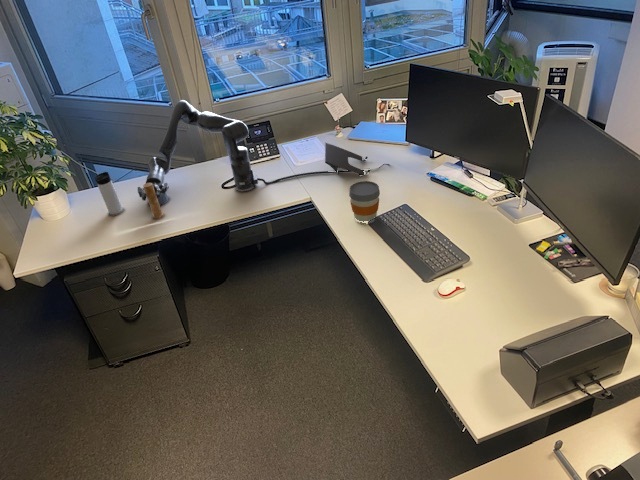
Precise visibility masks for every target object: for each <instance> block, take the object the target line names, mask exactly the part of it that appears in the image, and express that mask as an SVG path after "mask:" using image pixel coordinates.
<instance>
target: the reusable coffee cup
mask: <svg viewBox="0 0 640 480" xmlns="http://www.w3.org/2000/svg"><path fill="white" fill-rule="evenodd" d="M348 195H349V198H350V201H349V203H350V206H351V207H350V208H351V211H352V212H353V215H354V216H353V217H354V219H355V218H356V219H357V220H359V221H363V222H364V221H369V220H371V219H373V218H374V217H376V218H377V214H378V213H377V212H378V211H379V205H380V198H379V197H380V195H381V193H380V185H379V184H378V183H376V182H374V181H371V180H361V181H357V182H354V183H351V185H350V187H349V193H348ZM364 224H365V225H364ZM359 225H362V226H363V225H364V226H367V225H366V223H362V222H360V224H359Z"/></svg>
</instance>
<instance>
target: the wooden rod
mask: <svg viewBox="0 0 640 480" xmlns="http://www.w3.org/2000/svg"><path fill="white" fill-rule="evenodd" d="M142 188H144V190H145V193H146V199H147V198H148V199H147V202H148V201H149V202H148V204H149V207H150V209H151V212H152V215H153V218H154V219H161V218H162V217H163V216H164V214H163V211H162V208H161V205H159V202H158V199H157V196H156V193H155V190H154V187H153V184H152V183H146V182H145V183H144V184H143V185H142Z"/></svg>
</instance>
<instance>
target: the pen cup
mask: <svg viewBox="0 0 640 480" xmlns="http://www.w3.org/2000/svg"><path fill="white" fill-rule="evenodd" d="M155 193H157V192H155ZM146 200H147V202H148V203H149V201H148V198H147V197H146ZM168 201H169V195H168V192H166V193H164V194H163V193H162V194H161V197H159V198H158V202H159V205H160V206H161V205H164V204H166V203H167V202H168Z"/></svg>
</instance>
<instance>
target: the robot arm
mask: <svg viewBox="0 0 640 480" xmlns="http://www.w3.org/2000/svg"><path fill="white" fill-rule="evenodd" d="M180 121H181V122H182V123H184V124H187V125H190V126H194V127H197V128H199V129H201V130H203V131H205V132H208V133H211V134H221V136H222V139H223V142H224V147H225V150H226V153H227V155H228V158H229V163H230V167H231V172H232V177H233V181H234V184H235V190H236V191H237V192H243V193H244V192H249V191H252V190H253V189H256V185H258V184H259V181H261V182H263V184H265V185H271V184H275V183H277V182H280V181H283V180H287V179H293V178H296V177H301V176H302V177H303V176H309V175H319V174H337V173H336V172H328V171H329V170H323V171H311V172H304V173H297V174H292V175H288V176H284V177H280V178H277V179H275V180H272V181H269V182H268V181H266V180H265V179H264V178H260V177H258V174H254V172H253V171H254V170H253V169H252V166H251V160H250V155H249V150H248V148H247V147H245V146H243V145H242V146H240V145H239V146H238V143H240V142H243V141H244V140H246V139H247V138H248V137H249V133H250V132H249V128H248V126H247V125H246V124H245V123H244V122H243V121H241V120H237V119H232V118H228V117H224V116H222V115H219V114H216V113H214V112H210V111H203V112H200V111H199V110H197V109H196V108H195V107H194V106H193V105H191V104H190V103H189V102H188V101H186V100H184V99H181V100H179V101H177V102H176V103H175V105H174V106H173V109H172V111H171V115H170V119H169V122H168V126H167V130H166V132H165V134H164V137H163V140H162V141H161V143H160V146H159V148H158V153H159V154H160V155H161V156H162V157H164V159H163V158H161V157H158V156H151V157H150V158H149V159H148V161H147V169H148V175H147V177H146V181H145V184H146V183H152V184H153V187H154V190H155V192H157V193H156V196H157V199H158V198H159V197H161V194H162V193H163V194H164V193H168V190H169V183H168V182H165V183H164V181H165V176H166V175H168V173H169V172H170V169H171V163H172V157H173V155H174V153H175V150H176V149H177V146H178V142H179V124H180ZM363 171H364V170H363ZM338 173H339V174H341V173H352V172H351V171H343V170H338ZM137 194H138V196H139V198H141V200H142V201H144V202H145V201H146V200H147V196H146V193H145V190H144V187H141V186H138V187H137Z"/></svg>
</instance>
